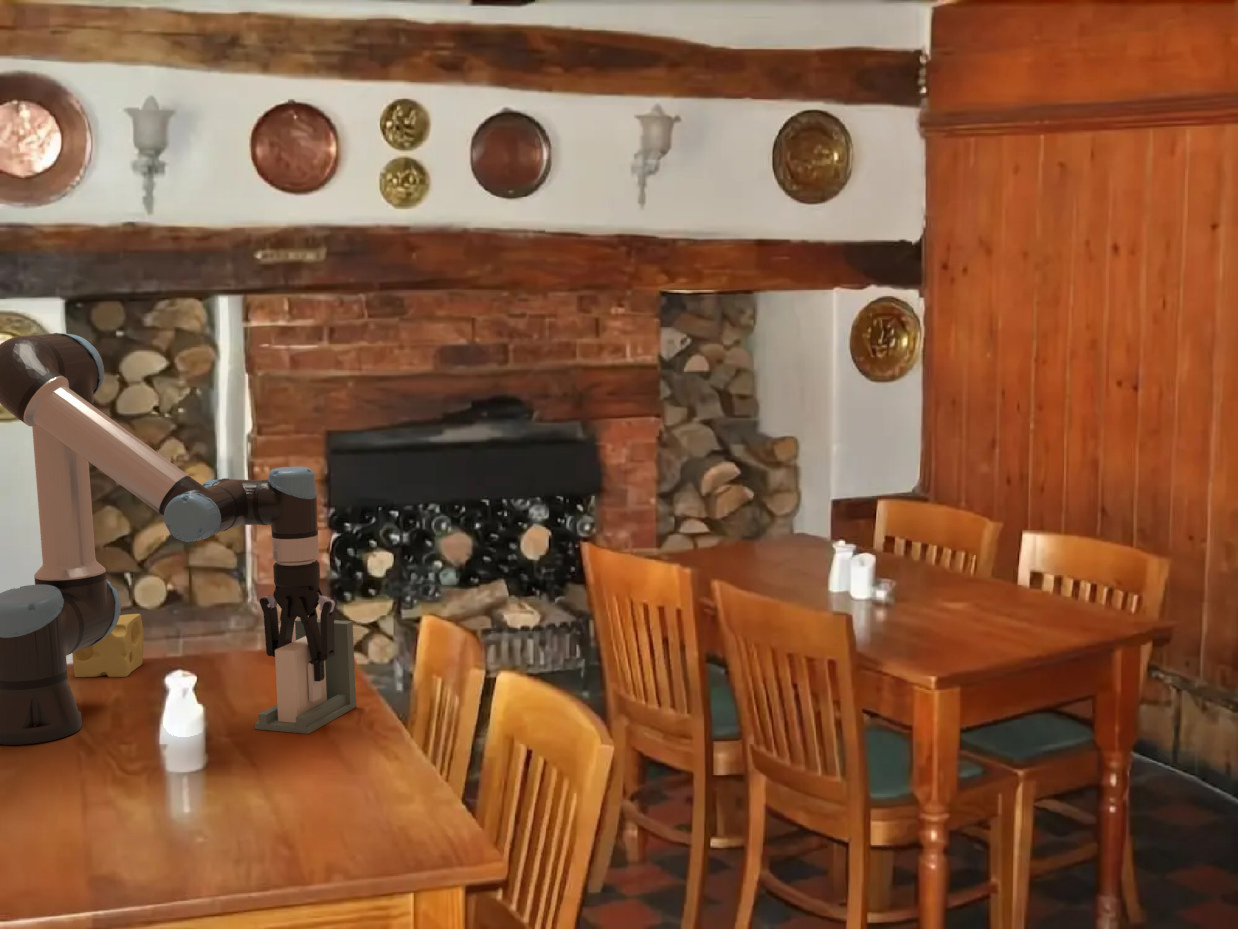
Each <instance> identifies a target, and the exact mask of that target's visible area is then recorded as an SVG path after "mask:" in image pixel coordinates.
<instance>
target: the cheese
mask: <svg viewBox="0 0 1238 929" xmlns="http://www.w3.org/2000/svg"><path fill="white" fill-rule="evenodd" d="M143 627H144V626H143V620H142V615H141V613H129V614H120V617H119V620H118V622H117V624H116V626H115V628H114V629H113V630H112V632H111V633H110V634H109V635H107V636H106V637H105V638H103V639H102V640H101V641H99V642H98V643H96V644H94V645H92V646H89V647H87V648H83V649H80V650H78V651H76V652H74V653H71V654H72V665H73V671H74V672H73V673H74V677H75V678H95V677H101V676H107V677H108V678H109V677H110V678H127V677H128V676H130V674H131V673H132V672H133V671H135V670H136V669H138V668H139V667H141V665H143V659H144V628H143Z"/></svg>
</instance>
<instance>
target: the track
mask: <svg viewBox="0 0 1238 929" xmlns="http://www.w3.org/2000/svg"><path fill="white" fill-rule="evenodd" d="M317 623H318V627H319V631H320V636H321V623H320V619H318V618H317ZM353 623H354V621H351V620H337V619H334V641H335V654H334V656H333V657H330V658H328V659H326V660H325V668H326V691H327V701H325V702H323V703H321V704H319V705H318V706H316V707H314V708H312V709H310V710H308V711H306V712H305V713H303V714H301V715H299V716H297V717H296V723H293V722H281V721H278V707H277V704H275V705H273V706H271V707H269V708H267V709H266V710H263V711H261V712H260V713H258V714H257V715H258V717H257V718H258V720H257V721H256V722H254V730H261V731H271V732H273V731H274V732H282V733H283V732H286V733H294V734H295V733H296V734H305V735H306V734H308V735H309V734H311V733H312V732H314V731H316V730H318V729H320V728H323V727H324V726H325V725H327V724H329V723H330V722H332V721H334V720H336V719H338V718H340V717H341V716H343V715H345V714H347V713H348V712H350V711H352V710H353V709H355V708H357V697H356V695H357V694H356V693H357V692H356V673H355V671H356V669H355V668H356V667H355V648H354V646H355V645H354V626H353ZM294 630H295V641H296V640H298V639H300V638H303V637H305V636H306V634H305V630H304V625H303V624H302V623H301V620H300V618H298V619H295V623H294Z"/></svg>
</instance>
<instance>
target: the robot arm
mask: <svg viewBox="0 0 1238 929" xmlns="http://www.w3.org/2000/svg"><path fill="white" fill-rule="evenodd" d="M104 377H105V367H104V363H103V358H102V357H101V354H100V353H99V351H98V350H97V349H96V347H94V345H92V344H91V343H90V342H89V341H88V340H87V339H85V338H84V337H82V336H79V335H76V334H72V333H60V332H55V333H54V332H53V333H45V334H44V333H43V334H36V335H23V336H22V335H21V336H14V337H11V338H9V339H6V340H5V341H3V342H1V343H0V405H1V406H2V407H3V408H4V409H5V410H6V411H8V412H9V413H10V414H12V416H14V417H15V418H16V419H18V420H20V422H22V423H24V424H25V425H27V426H28V427H31V429H32V438H33V441H32V443H33V454H34V468H35V478H36V492H37V506H38V517H39V520H38V521H39V533H40V543H41V544H40V545H41V546H40V547H41V557H42V565H41V567H40V568H39V569H38V570H37V571H36V572H35V573H34V575H33V576H34V584H28V585H22V586H20V587H18V588H15V587H14V588H10V589H6V590H4V591H2V592H0V745H12V746H13V745H14V746H15V745H16V746H17V745H19V746H20V745H32V744H38V743H46V742H50V741H55V740H59V739H63V738H66V737H68V736H71V735H74V734H75V733H77V732H79V731H80V730H81V729H82V727H83V726H82V725H83V720H82V712H81V710H80V708H79V707H78V706H77V705H78V704H77V703H76V700H75V699H76V698H75V697H74V695H73V691H72V689H71V687H70V684H69V680H68V666H67V662H68V661H67V656H69V655H71V654H72V653H74V652H76V651H78V650H80V649H83V648H87V647H89V646H92V645H94V644H96V643H98V642H99V641H101V640H102V639H103V638H105V637H106V636H107V635H109V634H110V633H111V632H112V630H113V629H114V628H115V626H116V624H117V622H118V620H119V617H120V615H121V611H122V610H121V609H122V608H121V607H122V605H121V604H122V603H121V599H120V596H119V592H118V591H117V589H116V587H113V585H112V582H111V581H110V580H108V579H107V571H106V567H104V566H103V565H102V564H101V563H99V562H98V561H97V558H96V546H95V535H94V534H95V532H94V521H93V520H94V517H93V506H92V505H93V504H92V489H91V481H90V479H91V478H90V464H91V465H92V466H94V467H96V469H98V470H99V471H101V472H102V473H104V475H106V476H108V477H109V478H110V479H112V480H113V481H115V482H116V483H117V484H119V485H120V486H121V487H123V488H124V489H126V490H127V491H128V492H130V493H131V494H133V495H134V496H135V497H137V498H138V499H139V500H140V501H142V502H143V503H145V504H146V505H148V506H149V507H150V508H152V509H153V510H154V511H155V512H157V513H158V514H160V515H161V516H163V521H164V524H165V527H166V529H167V530H168V532H169V534H170V535H171V536H172V537H174V538H175V539H177V540H179V541H181V542H188V543H190V542H196V541H197V542H198V541H202V540H206V539H208V538H211V537H213V536H215V535H217V534H219V533H221V532H222V533H223V532H225V531H229V530H231V529H234V528H236V527H239V526H270V528H271V547H272V548H271V549H272V552H271V553H272V560H273V561H275V563H273V566H272V567H273V570H272V571H273V584H274V585H275V589H274V591H273V593H272V594H271V595H266V596H264V597H261V598H260V599H259V605H260V608H261V610H262V613H263V623H264V624H263V627H264V636H265V637H264V639H265V640H264V641H265V649H266V655H267V656H268V657H274V658H275V650H276V649H278V648H280V647H283V646H285V645H287V644H289V643H292V642H293V636H294V630H295V621H296V620H297V618H299V619H300V620H301V623H302V624H303V625H304V630H305V634H306V638H307V642H308V647H309V651H310V655H311V661H309V663H307V664H308V686H309V702H314V701H316V700H318V699H320V698H321V680H323V679H324V677H325V674H324V661H325V660H326V659H328V658H330V657H333V656H334V654H335V641H334V620H335V611H336V608H337V606H338V601H337V599H335V598H332V599H329V598H327V597H326V596H324V595H323V593H322V591H321V588H320V584H321V569H320V567H321V566H320V564H321V563H320V562H319V560H317V559H318V558H319V557H320V548H319V544H320V543H319V527H318V492H317V486H316V485H317V484H316V476H315V472H314V471H313V469H312V468H309V467H306V466H281V467H276V468H272V469H271V470H269V472H268V479H236V478H235V479H230V478H225V477H224V478H222V479H209V480H206V481H205V482H203V484H201V483H200V482H199V481H198V480H196V479H195V478H192V477H191V476H190V475H189V474H188V473H186V472H185V471H184V470H182V469H180V467H178V466H176V465H175V464H173V463H172V462H171V461H169V460H168V459H167V458H165V457H164V456H163V455H161V454H160V453H159V452H157V451H156V450H154V449H153V447H150V446H149V445H148V444H146V443H145V442H143V441H142V440H141V439H140V438H138V437H137V436H136V435H134V434H133V433H132V432H130V431H128V430H127V429H125V428H124V427H123V426H121V425H120V424H119V423H117V422H116V421H115V420H113V419H112V418H111V417H110V416H108V415H107V414H105V413H103V412H102V411H101V410H100V409H98V408H97V407H96V406H95V403H94V400H95V399H94V396H95V395H96V393H97V392H98V391H99V389H100V388H101V386H102V384H103V382H104ZM89 463H90V464H89ZM277 606H279V608H280V615H279V616H280V617H279V616H278V614H279V612H278V607H277ZM318 606H319V611H320V623H321V636H320V631H319V627H318V623H317V619H318V613H317V607H318ZM279 621H280V627H279Z"/></svg>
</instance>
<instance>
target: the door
mask: <svg viewBox="0 0 1238 929" xmlns="http://www.w3.org/2000/svg"><path fill="white" fill-rule="evenodd" d="M274 661H275V662H274V664H275V682H276V686H275V687H276V702H277V703H276V705H277V707H278V721H281V722H293V723H296V717H297V716H299V715H301V714H303V713H305V712H306V711H308V710H310V709H312V708H314V707H316V706H318V705H319V704H321V703H323V702H325V701H327V691H326V668H325V661H324V674H325V677H324V679H323V680H321V698H320V699H318V700H316V701H314V702H309V686H308V664H307V663H309V661H311V655H310V651H309V647H308V642H307V638H306V636H305V637H303V638H300V639H298V640H296V639H295V640H294V641H292V643H289V644H287V645H285V646H283V647H280V648H278V649H276V650H275V657H274Z"/></svg>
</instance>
